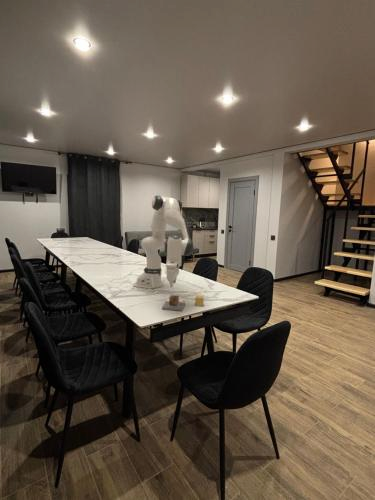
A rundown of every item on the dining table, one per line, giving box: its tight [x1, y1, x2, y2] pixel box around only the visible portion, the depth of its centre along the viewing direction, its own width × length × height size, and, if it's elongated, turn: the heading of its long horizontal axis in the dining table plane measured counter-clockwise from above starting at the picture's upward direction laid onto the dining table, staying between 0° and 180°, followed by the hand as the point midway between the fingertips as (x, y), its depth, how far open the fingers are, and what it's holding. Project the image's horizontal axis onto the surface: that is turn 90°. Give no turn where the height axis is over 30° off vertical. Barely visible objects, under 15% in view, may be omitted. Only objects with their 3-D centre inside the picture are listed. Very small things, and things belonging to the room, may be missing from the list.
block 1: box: [168, 294, 180, 306], centre depth 162 cm, size 5×5×5 cm
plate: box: [161, 300, 186, 312], centre depth 162 cm, size 12×12×1 cm
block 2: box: [194, 295, 205, 307], centre depth 168 cm, size 5×5×5 cm
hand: (172, 285), depth 161 cm, fingers open, 8 cm apart
